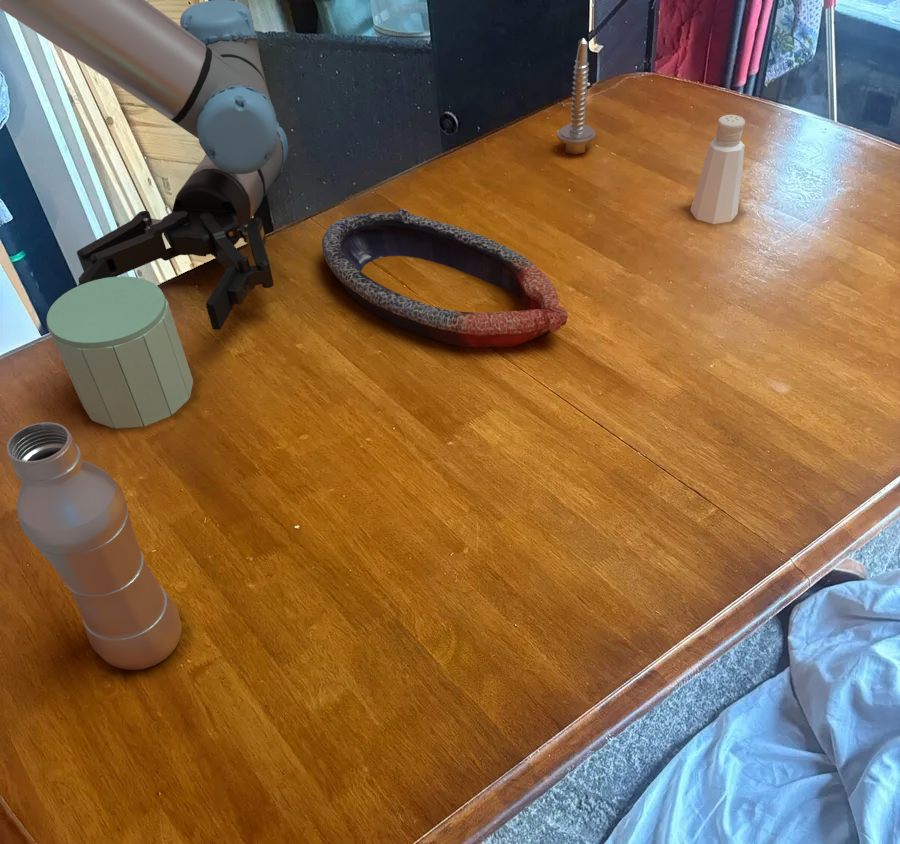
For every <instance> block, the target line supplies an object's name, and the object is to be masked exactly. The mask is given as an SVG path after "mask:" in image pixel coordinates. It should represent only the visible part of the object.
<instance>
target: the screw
mask: <svg viewBox="0 0 900 844" xmlns="http://www.w3.org/2000/svg"><path fill="white" fill-rule="evenodd" d="M577 41H578V43H577V54H576V59H575V60H574V63H575V65H574V66H573V68H574V70H573V71H572V73H573V74H574V75H573V76H572V79H573V81H572V84H573V86H572V87H571V89H572V90H573V91H572V92H571V94H572V97H571V100H572V102H570V104H571V107H570V109H571V111H570V115H571V117H569V118H570V120H571V121H570V122H569V124H566V125H564V126H562V127H561V128H560V129H559V130H558V131H557V139H558V140H559V141H560V142H562V143H564V144H565V153H566V154H569V155H573V156H577V155H581V154H584V153H586V145H587V144H589V143H591V142H593V141H595V139H596V137H597V133H596V131H595V129H593V127H592V126H590V125H587V124H585V122H586V120H585V119H586V111H587V110H586V108H587V97H588V94H587V92H588V86H589V85H588V82H589V78H588V77H589V75H590V74H589V71H590V68H589V65H590V62H588V46H589V44H588V43H589V42H588V41H587V40H586V38H584V37H582V38H580V39H579V40H577Z"/></svg>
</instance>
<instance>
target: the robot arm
mask: <svg viewBox="0 0 900 844" xmlns="http://www.w3.org/2000/svg"><path fill="white" fill-rule="evenodd" d="M0 10H2V11H3V12H5V13H6V14H7V15H9V16H10V17H12V18H14V19H15V20H17V21H19V22H20V23H21V24H22V25H24V26H26V27H27V28H29V29H31V30H32V31H34V32H35V33H37V34H38V35H40V37H42V38H44V39H46V40H47V41H49V42H50V43H52V44H53V45H55V46H56V47H58V48H59V49H61V50H62V51H64V52H65V53H67V54H69V55H70V56H72V57H73V58H75V59H76V60H77V61H80V62H81V63H82V64H84V65H86V66H87V67H89V68H90V69H92V70H93V71H95V72H96V73H97V74H99V75H101V76H102V77H104V78H105V79H107V80H108V81H110V82H111V83H113V84H114V85H116V86H118V87H119V88H121V89H122V90H124V91H125V92H126V93H128V94H130V95H131V96H133V97H134V98H136V99H137V100H140V101H141V102H142V103H144V104H145V105H147V106H148V107H150V108H152V109H153V110H154V111H156V112H158V113H159V114H161V115H162V116H163V117H165V118H167V119H168V120H170V121H171V122H173V123H175V124H176V125H177V126H179V127H180V128H181V129H183V130H184V131H186V132H188V133H189V134H190V135H192V136H194V137H195V138H197V139H198V144H199V145H200V148H202V150H203V152H204V154H205V155H204V157H202V159H201V161H200V163H199V164H198V165H197V166H196V167H195V169H194V170H193V171H192V173H191V174H190V176H189V177H188V179H187V180H186V181H185V183H184V184H183V186H182V187H181V188H180V189H179V190H178V192H177V194H176V196H175V199H174V201H173V207H172V210H171V212H170V213H169V214H167V215H166V216H164V217H162V218H161V219H157V218H152V217H151V213H150V211H149V210H141V211H139V212H138V213H137V214H136V215H135V216H134V217H133V218H132V219H131V220H130V221H128V222H126V223H124V224H122V225H120V226H119V227H116V228H115V229H113V230H112V231H110V232H108V233H107V234H105V235H103V236H101V237H99V238H97V239H96V240H94V241H92V242H91V243H89V244H87V245H85V246H83V247H81V248H80V249H78V250H76V255H77V258H78V260H79V263H80V265H81V268H82V270H83V272H82V273H81V275H80V276H79V277H78V281H77V282H78V284H77V286H80V285H82V284H85V283H87V282H91V281H94V280H98V279H102V278H108V277H120V276H121V275H123V274H126V273H128V272H131V271H133V270H136V269H138V268H141V267H143V266H145V265H147V264H150V263H153V262H155V261H157V260H160V259H161V260H163V261H164V262H165V261H166V262H167V261H169V260H172V259H173V258H177V257H178V256H190V255H191V256H192V255H193V256H196V257H207V256H208V255H211V256H213V257H214V258H215V259H216V261H217V262H218V263H219V265H223V267H224V268H225V271H224V273H223V275H222V276H221V278H220V279H219V281H218V283H217V284H216V286H215V287H214V289H213V291H212V292H211V295H210V296H209V298H208V299H207V301H206V303H205V308H206V311H207V314H208V317H209V321H210V325H211V328H212V330H214V331H215V330H216V331H221V329H222V328H223V326H224V324H225V322H226V320H227V319H228V317H229V315H230V313H231V311H232V310H233V308H234V307H235V305H241V304H242V303H244V301H245V299H246V297H247V296H248V294H249V292H250V291H252V290H254V289H255V287H256V286H258V285H261V286H262V288H263V289H270V288H272V287H274V278H273V274H272V270H271V265H270V260H269V257H268V254H267V251H266V248H265V245H266V241H267V239H266V235H265V230H264V225H263V220H262V218H261V216H255V214H256V212H257V211H258V209H259V208H260V205H261V204H262V203H263V200H264V199H265V197H266V195H267V194H268V192H269V191H270V190H271V187H272V186H273V185H274V184H275V183H276V181H277V180H278V179H279V178H280V176H281V174H282V171H283V168H284V166H285V163H286V160H287V159H288V153H289V144H288V138H287V135H286V133H285V131H284V129H283V128H282V126H281V125H280V123H279V121H278V120H277V114H276V111H275V108H274V105H273V103H272V100H271V97H270V93H269V90H268V86H267V81H266V77H265V73H264V69H263V66H262V62H261V55H260V50H259V44H258V35H257V32H256V30H255V25H254V21H253V17H252V13H251V11H250V9H249V8H248V7H247V6H246V5H245V4H243V3H242V2H240V1H236V0H206V1H200V2H198V3H195V4H193V5H190V6H189V7H187V8H186V9H185V10H184V11H183V12H182V14H181V16H180V20H179V23H177V22H176V21H174V20H173V19H172V18H170V17H169V16H168V15H166V14H165V13H163V12H162V11H161V10H159V9H158V8H156V7H155V6H154V5H153V4H151V3H150V2H149V1H147V0H0ZM164 238H165V240H166V242H167V243H168V245H169V247H168V248H167V247H166V243H165V240H164ZM240 239H243V242H244V243H246V244H247V247H248V248H250V251H251V254H252V258H253V261H254V264H255V265H254V264H253V265H250V260H249V257H248V255H247V256H243V254H242V253H241V252H240V251H239V250H238V248H237V247H236V245H237V244H238V242H240Z"/></svg>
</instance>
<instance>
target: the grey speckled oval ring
mask: <svg viewBox="0 0 900 844" xmlns="http://www.w3.org/2000/svg"><path fill="white" fill-rule="evenodd" d="M321 249H322V254H323V258H324V260H325V262H326V264H327V266H328V268H329V269H330V270H331V272H332V273H333V275H334V276H335V278H336V280H337V281H338V282H339V284H340V285H341V286H342V287H343V288H344V290H345V291H346V292H347V293H348V294H349V295H350V296H351V297H352V298H353V299H354V300H355V301H357V303H359V304H360V305H361V306H362V307H364V308H365V309H366V310H367V311H369V312H371V313H372V314H374V315H375V316H377V317H379V318H381V319H383V320H384V321H386V322H388V323H390V324H392V325H394V326H397V327H398V328H401V329H403V330H406V331H408V332H410V333H413V334H415V335H417V336H421V337H423V338H426V339H428V340H432V341H435V342H439V343H442V344H447V345H452V346H457V347H463V348H474V349H479V348H480V349H481V348H496V347H498V348H508V347H516V346H519V345H522V344H525V343H528V342H529V341H532V340H534V339H536V338H539V337H541V336H543V335H545V333H547V332H550V333H556V332H557V331H559V330H560V328H561V326H565V325H566V324H567V321H568V318H569V316H568V310H567V309H565V308H563V307H562V306H560V305H559V296H558V293H557V289H556V287H555V286H554V284H553V283H552V281H551V280H550V279H549V277H548V276H547V275H546V274H545V273H544V272H543V271H542V270H541V269H540V268H539V267H537V265H536V264H535V263H533V262H532V261H531V260H529V259H528V258H527V257H525V256H523V255H522V254H520V253H518V252H516V251H515V250H513V249H511V248H509V247H507V246H506V245H503V244H501V243H499V242H497V241H495V240H494V239H493V240H492V239H491V238H488V237H486V236H483V235H481V234H478V233H476V232H474V231H470V230H467V229H465V228H461V227H458V226H455V225H452V224H448V223H445V222H441V221H438V220H434V219H431V218H427V217H423V216H420V215H416V214H412V213H410V212H409V211H408V209H406V208H399V209H398V210H397V211H393V212H392V211H390V212H369V213H368V212H366V213H360V214H353V215H350V216H345V217H343V218H341V219H338V220H336V221H335V222H333V223H332V224H331V225H330V226H329V227H328V228H327V229H326V231H325V233H324V235H323V237H322V239H321ZM387 257H409V258H416V259H421V260H425V261H429V262H433V263H436V264H439V265H442V266H445V267H448V268H451V269H455V270H457V271H459V272H462V273H465V274H467V275H470V276H472V277H475V278H477V279H479V280H482V281H484V282H486V283H489V284H491V285H494V286H496V287H499V288H501V289H503V290H505V291H507V292H509V293H511V294H513V295H514V296H515V297H516V298H518V300H520V301H521V302H522V305H523V306H524V309H525V310H514V311H513V310H512V311H490V312H472V311H470V312H469V311H460V310H453V309H447V308H442V307H438V306H434V305H430V304H427V303H424V302H421V301H418V300H415V299H412V298H410V297H407V296H405V295H403V294H400V293H398V292H396V291H394V290H391V289H390V288H387V287H385V286H384V285H382V284H381V283H378V282H377V281H375V280H373V279H372V278H370V277H369V276H367V275H366V274H365V273H363V272H362V270H363V268H364V267H365V266H366V265H367V264H368V263H371V262H372V261H374V260H378V259H382V258H387Z"/></svg>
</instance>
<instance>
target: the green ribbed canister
mask: <svg viewBox="0 0 900 844" xmlns="http://www.w3.org/2000/svg"><path fill="white" fill-rule="evenodd" d="M46 325H47V330H48V332H49V334H50V337H51V338H52V339H51V340H52V341H53V343H54V346H55V348H56V350H57V353H58V355H59V357H60V359H61V361H62V363H63V365H64V368H65V370H66V372H67V374H68V377H69V379H70V381H71V383H72V385H73V388H74V390H75V392H76V394H77V397H78V399H79V401H80V403H81V405H82V408H83V409H84V411H85V412H86V414H87V416H88V417H89V419H90V420H91V421H92V422H94V423H97V424H99V425H103V426H105V427H106V426H107V427H108V428H112V429H129V428H143V427H146V426H150V425H152V424H154V423H156V422H159V421H162V420H164V419H167V418H169V417H171V416H173V415H174V414H175V413H177V411H178V410H180V408H181V407H182V406H183V405H185V404H186V403H187V402H188V401H189V400H190V399H191V396H192V395H191V394H192V391H193V385H194V379H193V375H192V373H191V369H190V366H189V363H188V360H187V357H186V353H185V351H184V347H183V344H182V341H181V339H180V334H179V332H178V329H177V325H176V322H175V319H174V317H173V313H172V310H171V307H170V304H169V301H168V300H167V298H166V296H165V294H164V292H163V291H162V289H161V288H160V287H159V286H158V285H157V284H155V283H154V282H152V281H150V280H148V279H145V278H140V277H135V276H124V275H123V276H121V275H120V276H117V277H108V278H102V279H98V280H94V281H91V282H87V283H85V284H82V285H80V286H78V285H77V286H75V287H73V288H71V289H69V290H68V291H66V292H65V293H63V294H62V295H61V296H60V297H58V298H57V299H56V300H55V301H54V302H53V303H52V305H51V306H50V308H49V309H48V312H47V315H46Z"/></svg>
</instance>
